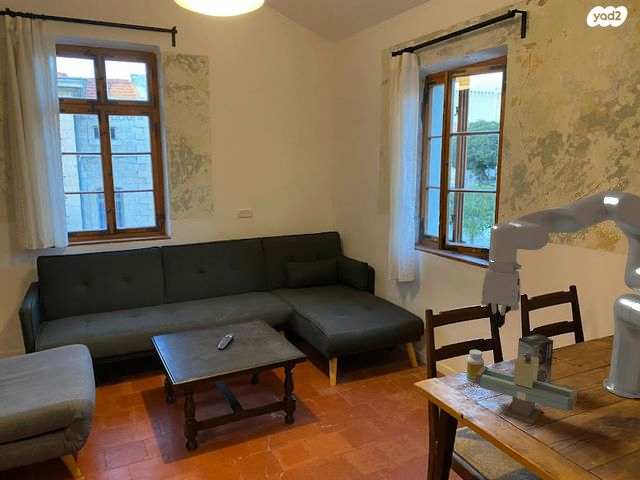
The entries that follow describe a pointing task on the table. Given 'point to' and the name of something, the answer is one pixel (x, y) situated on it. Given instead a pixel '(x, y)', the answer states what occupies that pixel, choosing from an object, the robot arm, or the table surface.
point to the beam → (526, 394)
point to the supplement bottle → (474, 364)
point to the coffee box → (538, 354)
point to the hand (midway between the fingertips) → (498, 326)
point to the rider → (526, 370)
